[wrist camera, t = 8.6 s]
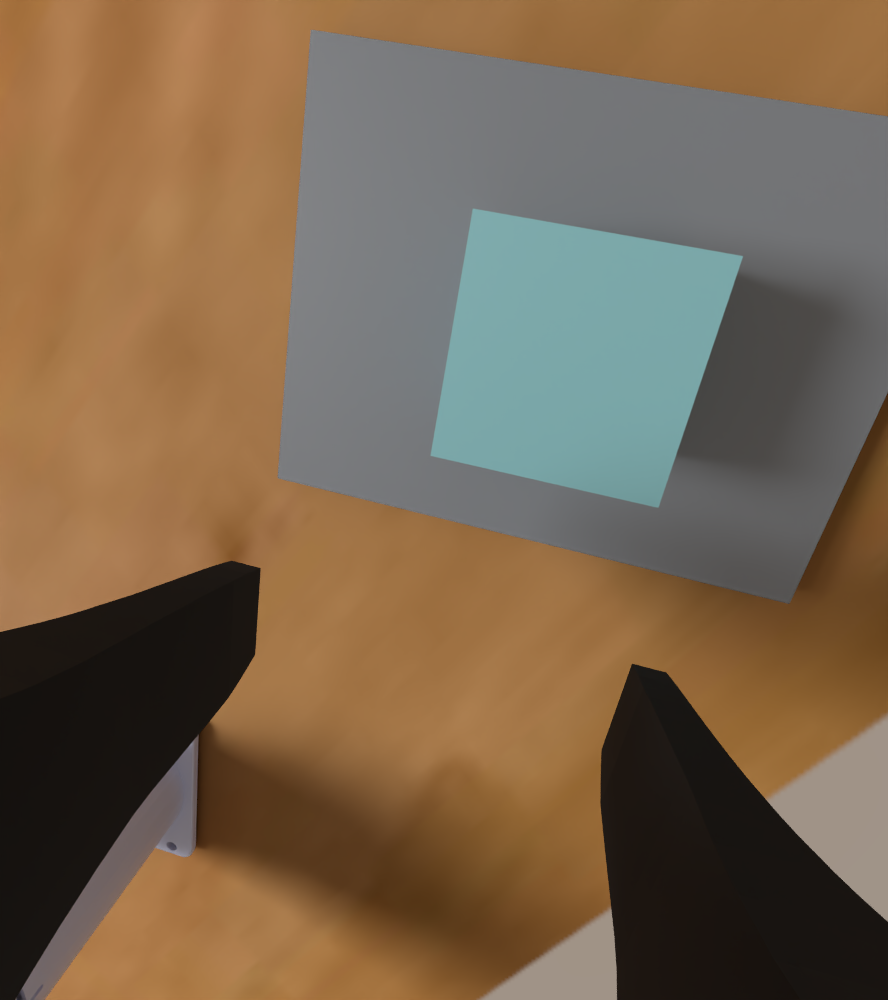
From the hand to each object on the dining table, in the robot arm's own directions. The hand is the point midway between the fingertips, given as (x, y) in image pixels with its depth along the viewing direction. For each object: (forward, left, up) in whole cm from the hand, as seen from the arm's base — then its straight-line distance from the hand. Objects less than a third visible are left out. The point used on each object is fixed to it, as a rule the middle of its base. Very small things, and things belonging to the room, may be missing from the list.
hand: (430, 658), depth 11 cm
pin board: (+1, +5, -9) cm, 10 cm away
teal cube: (+1, +5, -8) cm, 9 cm away
